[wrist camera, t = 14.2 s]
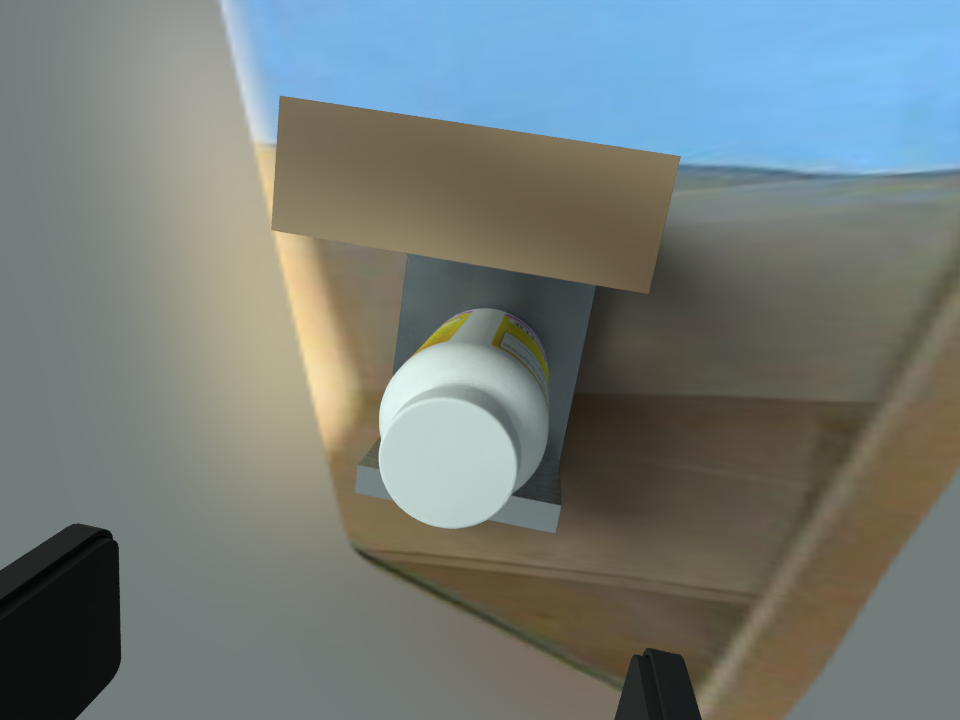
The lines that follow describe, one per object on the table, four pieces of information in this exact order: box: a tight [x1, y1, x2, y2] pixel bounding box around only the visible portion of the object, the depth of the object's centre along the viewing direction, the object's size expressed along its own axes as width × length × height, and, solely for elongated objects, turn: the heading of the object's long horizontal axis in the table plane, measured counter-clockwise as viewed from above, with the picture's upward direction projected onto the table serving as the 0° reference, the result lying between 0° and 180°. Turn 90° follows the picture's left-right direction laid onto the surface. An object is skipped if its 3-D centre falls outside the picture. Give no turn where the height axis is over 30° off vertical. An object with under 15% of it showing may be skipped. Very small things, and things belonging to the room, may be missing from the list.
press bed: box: [355, 253, 596, 533], centre depth 29 cm, size 16×10×6 cm, turn 171°
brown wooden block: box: [271, 96, 681, 294], centre depth 21 cm, size 3×9×16 cm, turn 81°
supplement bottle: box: [379, 308, 549, 529], centre depth 25 cm, size 7×7×13 cm
